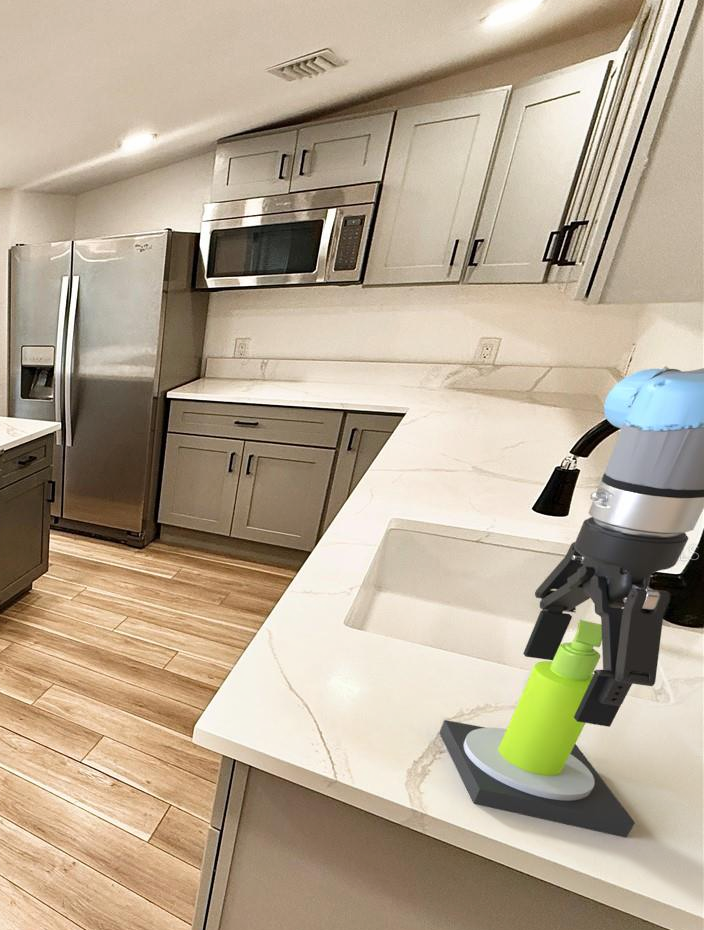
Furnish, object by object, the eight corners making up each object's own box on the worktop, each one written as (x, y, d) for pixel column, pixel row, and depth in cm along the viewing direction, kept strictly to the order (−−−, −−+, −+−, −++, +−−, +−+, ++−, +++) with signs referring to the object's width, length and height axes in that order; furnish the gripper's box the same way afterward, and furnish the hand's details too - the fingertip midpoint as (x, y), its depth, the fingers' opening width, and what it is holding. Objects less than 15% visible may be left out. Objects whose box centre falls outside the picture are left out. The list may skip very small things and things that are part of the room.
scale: (568, 757, 83) (578, 737, 81) (626, 837, 71) (639, 816, 70) (439, 732, 88) (446, 714, 87) (473, 803, 77) (482, 783, 75)
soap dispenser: (494, 763, 78) (553, 630, 70) (501, 736, 82) (557, 607, 74) (559, 788, 74) (629, 649, 66) (563, 758, 78) (629, 624, 70)
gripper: (538, 486, 77) (484, 630, 86) (656, 569, 57) (570, 747, 65) (620, 490, 74) (556, 639, 83) (776, 579, 54) (670, 765, 62)
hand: (562, 687), depth 74 cm, fingers open, 13 cm apart
